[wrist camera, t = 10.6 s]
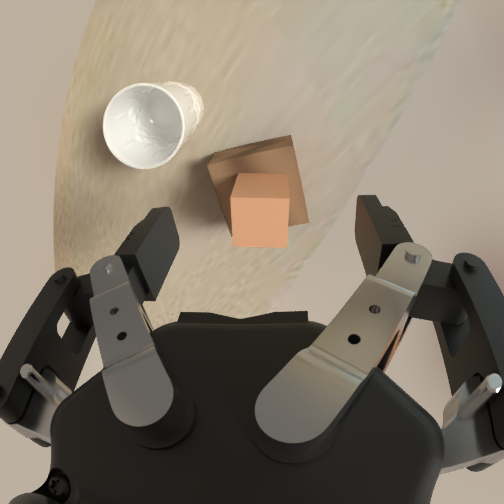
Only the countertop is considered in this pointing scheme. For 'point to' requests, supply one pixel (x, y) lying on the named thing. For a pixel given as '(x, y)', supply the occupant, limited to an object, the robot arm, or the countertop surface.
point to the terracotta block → (260, 210)
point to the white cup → (151, 122)
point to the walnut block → (259, 161)
